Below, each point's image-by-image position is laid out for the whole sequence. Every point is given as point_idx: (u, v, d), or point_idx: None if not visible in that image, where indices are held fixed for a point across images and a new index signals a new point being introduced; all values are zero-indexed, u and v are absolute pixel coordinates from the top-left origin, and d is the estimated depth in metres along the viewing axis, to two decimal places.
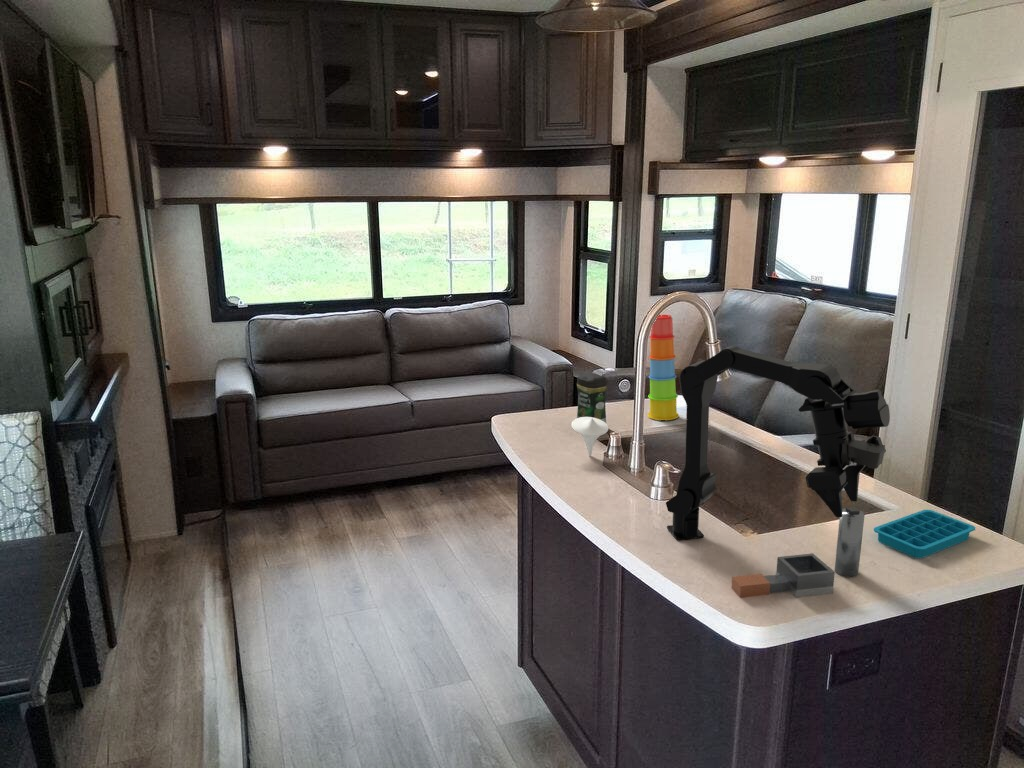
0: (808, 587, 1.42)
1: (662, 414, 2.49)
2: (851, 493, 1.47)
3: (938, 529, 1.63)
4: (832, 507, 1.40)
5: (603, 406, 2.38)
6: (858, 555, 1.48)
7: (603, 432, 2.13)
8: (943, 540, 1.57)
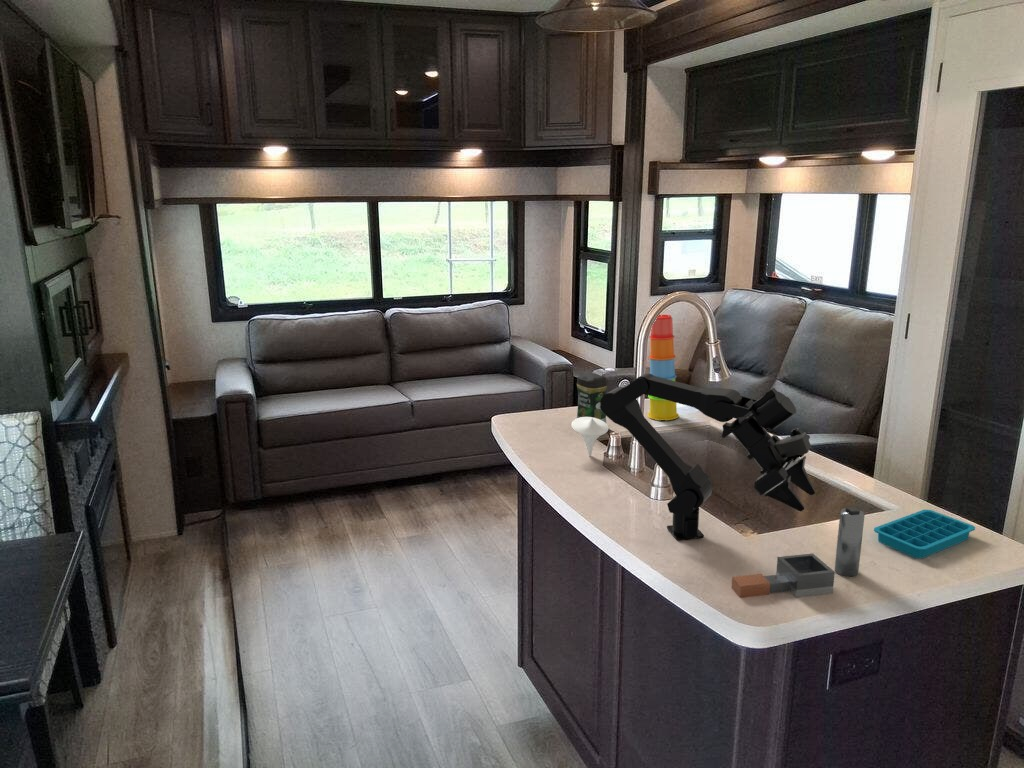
0: (808, 587, 1.42)
1: (662, 414, 2.49)
2: (807, 488, 1.56)
3: (938, 529, 1.63)
4: (792, 504, 1.48)
5: None
6: (858, 555, 1.48)
7: (603, 432, 2.13)
8: (943, 540, 1.57)
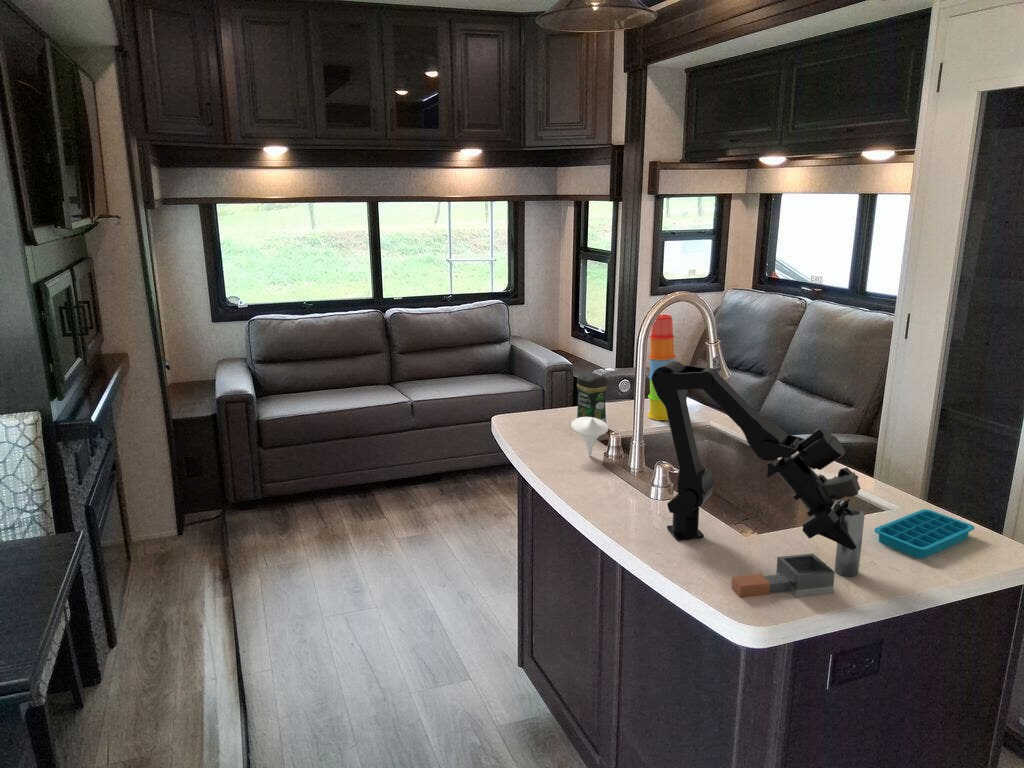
0: (808, 587, 1.42)
1: (662, 414, 2.49)
2: None
3: (938, 529, 1.63)
4: (843, 542, 1.47)
5: (603, 406, 2.38)
6: (858, 555, 1.48)
7: (603, 432, 2.13)
8: (944, 540, 1.57)
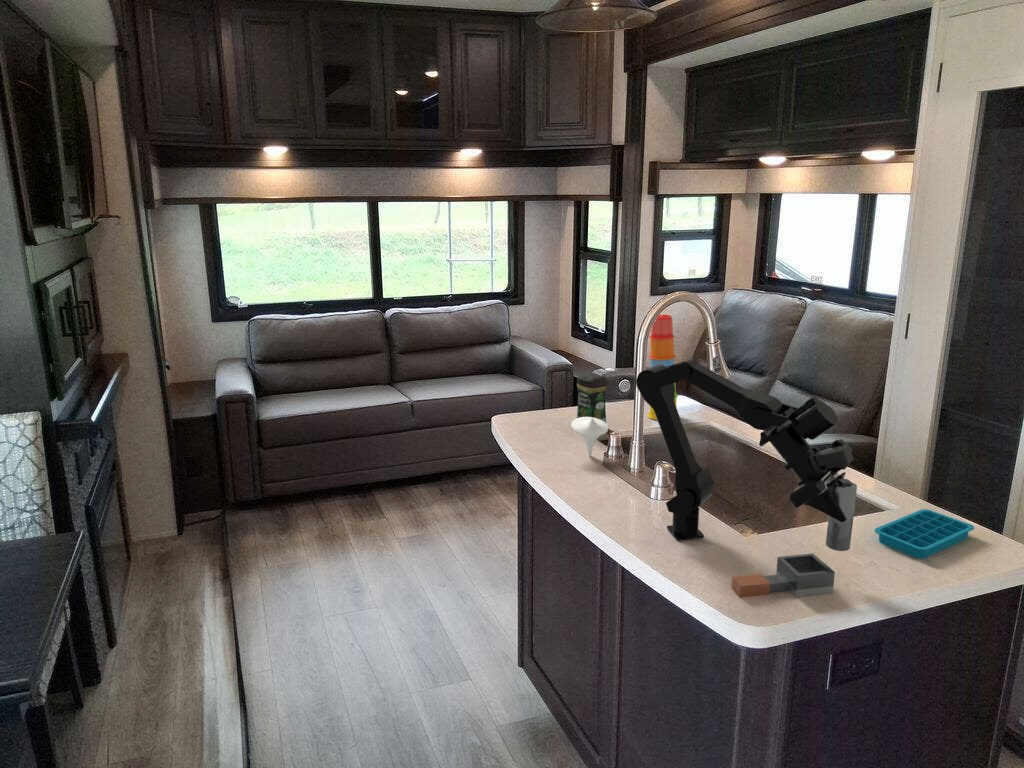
0: (808, 587, 1.42)
1: None
2: None
3: (938, 529, 1.63)
4: (833, 514, 1.43)
5: (603, 406, 2.38)
6: (849, 528, 1.44)
7: (603, 432, 2.13)
8: (944, 540, 1.57)
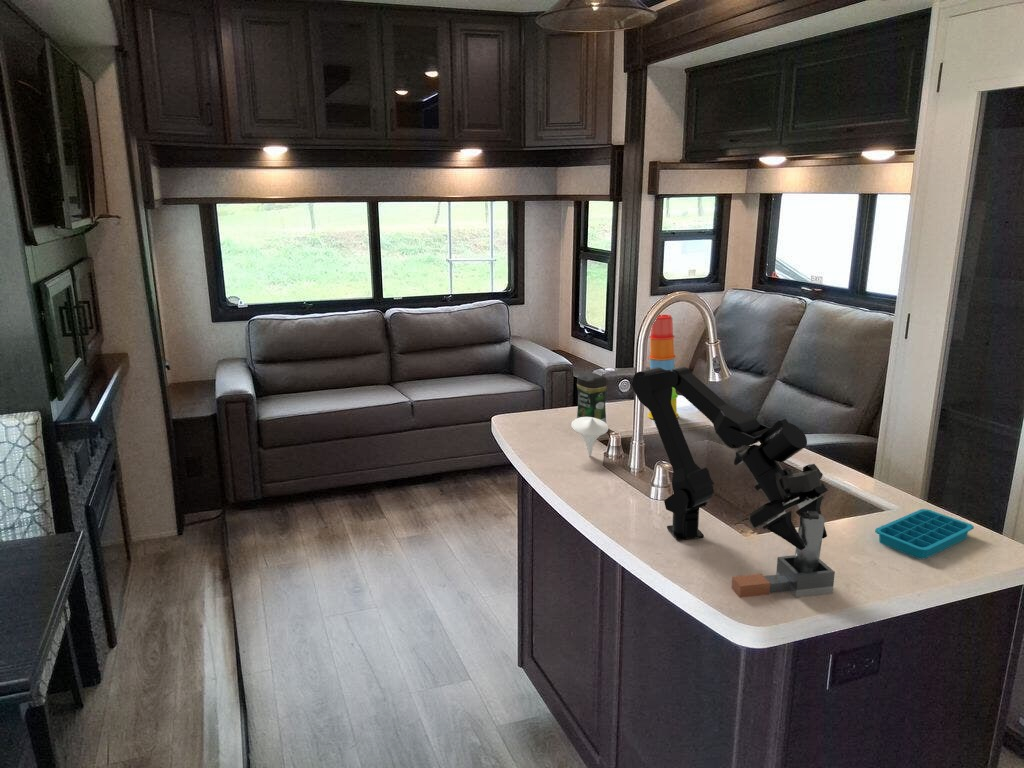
0: (808, 587, 1.42)
1: None
2: None
3: (938, 529, 1.63)
4: (791, 541, 1.41)
5: (603, 406, 2.38)
6: (814, 561, 1.43)
7: (603, 432, 2.13)
8: (944, 540, 1.57)
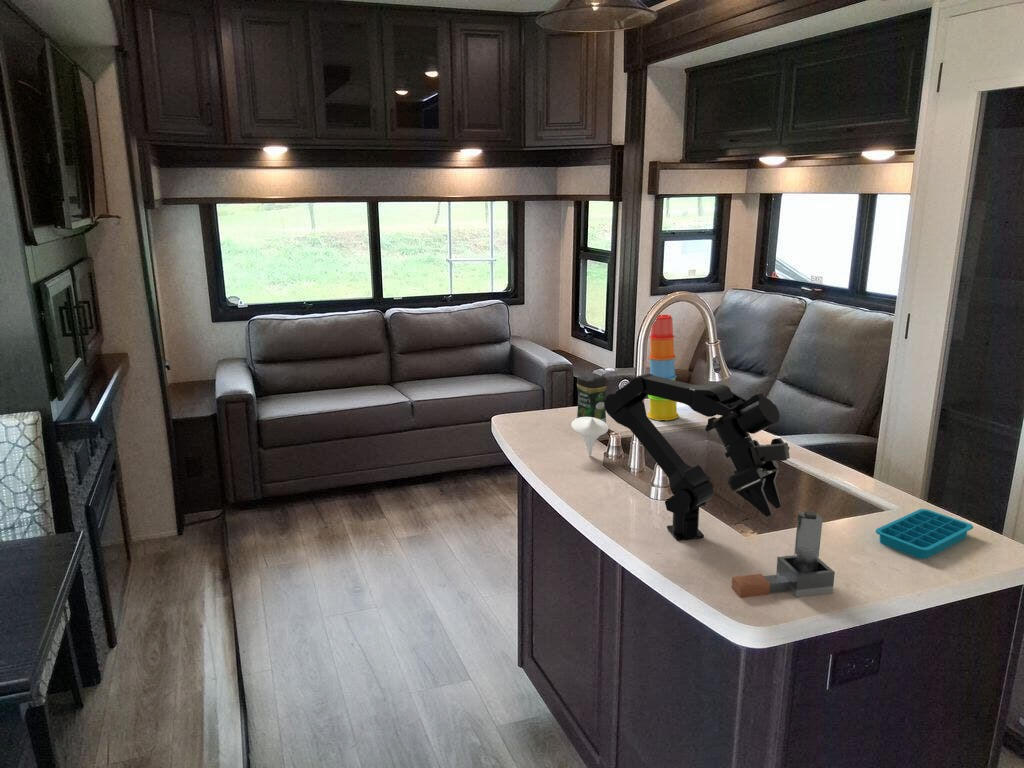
0: (808, 587, 1.42)
1: (662, 414, 2.49)
2: (774, 501, 1.55)
3: (937, 529, 1.63)
4: (760, 507, 1.47)
5: (603, 406, 2.38)
6: (813, 561, 1.43)
7: (603, 432, 2.13)
8: (945, 540, 1.57)
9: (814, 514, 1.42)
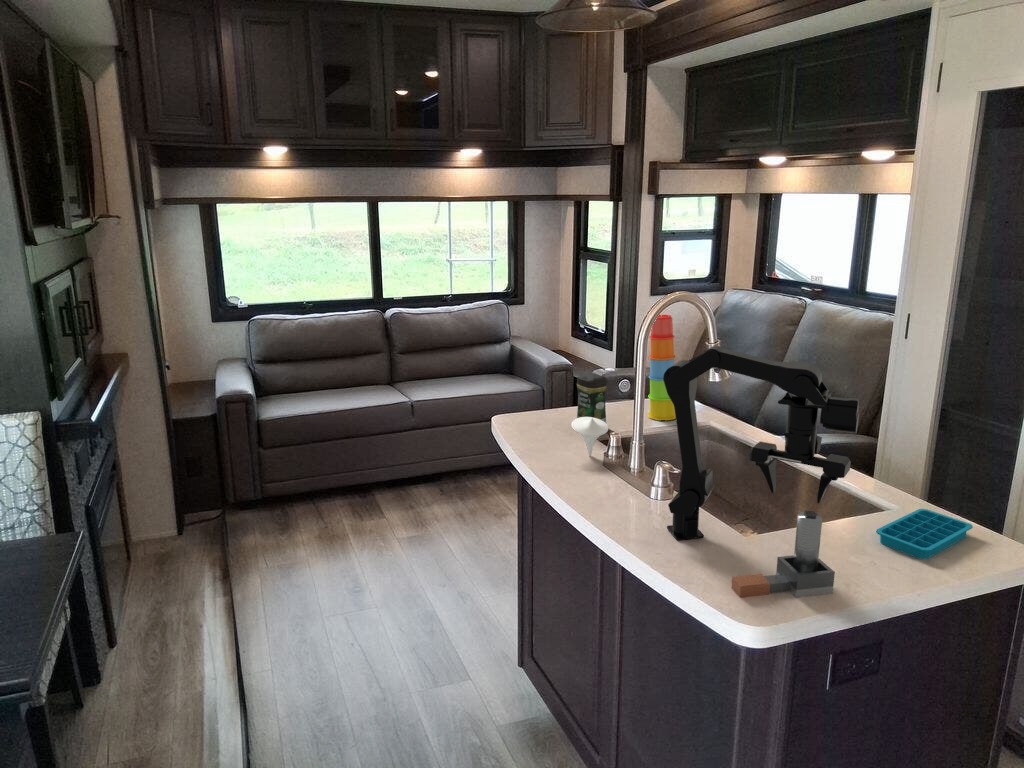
0: (808, 587, 1.42)
1: (662, 414, 2.49)
2: (774, 486, 1.57)
3: (937, 528, 1.63)
4: (823, 494, 1.51)
5: (603, 406, 2.38)
6: (813, 561, 1.43)
7: (603, 432, 2.13)
8: (945, 540, 1.57)
9: (814, 514, 1.42)
